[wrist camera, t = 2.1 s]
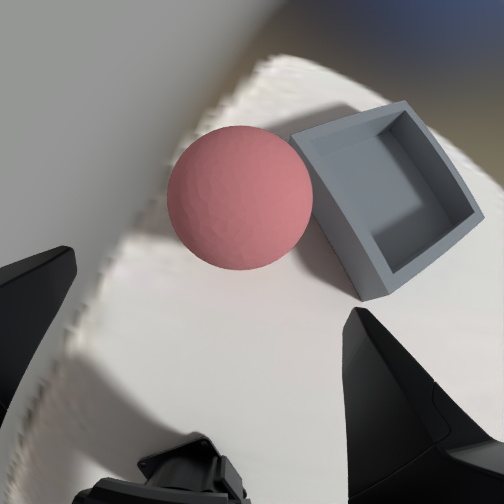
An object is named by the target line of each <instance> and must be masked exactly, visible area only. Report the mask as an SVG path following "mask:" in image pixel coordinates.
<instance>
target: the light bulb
mask: <svg viewBox="0 0 504 504" xmlns="http://www.w3.org/2000/svg"><path fill="white" fill-rule="evenodd" d="M312 203H313V194H312V184H311V181H310V177H309V173H308V171H307V168H306V166H305V164H304V163H303V161H302V159H301V158H300V156H299V155H298V154H297V152H296V151H295V150H294V149H293V148H292V147H291V146H290V145H289V144H288V143H287V142H286V141H284V140H283V139H281V138H280V137H278V136H277V135H275V134H273V133H271V132H269V131H267V130H264V129H260V128H256V127H251V126H229V127H223V128H220V129H217V130H214V131H212V132H210V133H208V134H206V135H204V136H202V137H200V138H199V139H197V140H196V141H195V142H194V143H192V144H191V145H190V146H189V147H188V148H187V149H186V150H185V151H184V153H183V154H182V155H181V157H180V158H179V160H178V161H177V163H176V165H175V167H174V169H173V171H172V174H171V177H170V180H169V184H168V192H167V205H168V211H169V216H170V219H171V222H172V225H173V227H174V230H175V232H176V233H177V235H178V237H179V238H180V240H181V241H182V242H183V244H184V245H185V246H186V247H187V248H188V249H189V250H190V251H191V252H192V253H193V254H195V255H196V256H197V257H198V258H200V259H202V260H203V261H205V262H207V263H209V264H211V265H214V266H217V267H220V268H224V269H230V270H251V269H255V268H259V267H263V266H265V265H268V264H271V263H272V262H274V261H276V260H278V259H279V258H281V257H282V256H284V255H285V254H286V253H288V252H289V251H290V250H291V249H292V248H293V247H294V246H295V245H296V243H297V242H298V241H299V239H300V238H301V236H302V235H303V233H304V231H305V229H306V227H307V225H308V222H309V219H310V215H311V211H312Z"/></svg>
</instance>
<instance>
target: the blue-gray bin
mask: <svg viewBox="0 0 504 504" xmlns="http://www.w3.org/2000/svg"><path fill="white" fill-rule="evenodd" d="M288 144H289V145H290V146H291V147H292V148H293V149H294V150H295V151H296V152H297V154H298V155H299V156H300V158H301V159H302V161H303V163H304V164H305V166H306V168H307V171H308V173H309V177H310V181H311V184H312V194H313V203H312V211H311V213H312V214H313V216H314V217H315V219H316V221H317V222H318V224H319V226H320V227H321V229H322V231H323V233H324V234H325V236H326V238H327V239H328V241H329V243H330V244H331V246H332V248H333V250H334V251H335V253H336V255H337V257H338V258H339V260H340V262H341V264H342V265H343V267H344V269H345V271H346V273H347V274H348V276H349V278H350V280H351V282H352V283H353V285H354V287H355V289H356V291H357V293H358V295H359V296H360V298H361V300H362V302H364V301H368V300H372V299H375V298H379V297H383V296H387V295H390V294H391V293H393V292H394V291H395V290H397V289H398V288H400V287H401V286H402V285H404V284H405V283H406V282H408V281H409V280H410V279H412V278H413V277H414V276H416V275H417V274H418V273H420V272H421V271H422V270H424V269H425V268H426V267H427V266H429V265H430V264H431V263H433V262H434V261H435V260H436V259H438V258H439V257H440V256H441V255H443V254H444V253H445V252H446V251H448V250H449V249H450V248H451V247H452V246H454V245H455V244H456V243H457V242H458V241H459V240H461V239H462V238H463V237H464V236H465V235H466V234H468V233H469V232H470V231H471V230H472V229H473V228H474V227H476V226H477V225H478V224H479V223H480V222H481V221H482V220H483V219H484V218H485V217H484V215H483V213H482V212H481V210H480V208H479V206H478V204H477V202H476V201H475V199H474V197H473V195H472V194H471V192H470V190H469V189H468V187H467V185H466V184H465V182H464V180H463V179H462V177H461V176H460V174H459V172H458V171H457V169H456V168H455V166H454V165H453V163H452V162H451V160H450V159H449V157H448V156H447V154H446V153H445V151H444V150H443V149H442V147H441V146H440V144H439V143H438V142H437V140H436V139H435V137H434V136H433V135H432V133H431V132H430V131H429V129H428V128H427V127H426V126H425V124H424V123H423V122H422V121H421V119H420V118H419V117H418V116H417V114H416V113H415V112H414V111H413V109H412V108H411V107H410V106H409V105H408V104H407V102H406V101H405V100H404V101H400V102H396V103H392V104H389V105H385V106H381V107H377V108H374V109H370V110H367V111H363V112H360V113H356V114H353V115H350V116H347V117H343V118H340V119H337V120H334V121H331V122H328V123H325V124H321V125H318V126H315V127H313V128H310V129H307V130H304V131H301V132H298V133H295V134H292V135H291V136H290V140H289V143H288Z"/></svg>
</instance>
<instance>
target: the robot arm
mask: <svg viewBox="0 0 504 504" xmlns="http://www.w3.org/2000/svg"><path fill="white" fill-rule="evenodd" d="M76 274H77V265H76V258H75V252H74V250H73V248H71V247H68V246H59V247H56V248H53V249H51V250H48V251H45V252H42V253H39V254H36V255H33V256H31V257H28V258H25V259H22V260H20V261H17V262H14V263H12V264H9V265H6V266H4V267H1V268H0V428H1V425H2V423H3V420H4V417H5V415H6V413H7V409H8V408H9V405H10V403H11V401H12V398H13V396H14V394H15V392H16V390H17V387H18V385H19V383H20V381H21V379H22V377H23V375H24V373H25V371H26V369H27V367H28V365H29V363H30V361H31V359H32V357H33V355H34V353H35V351H36V350H37V348H38V346H39V344H40V342H41V340H42V339H43V337H44V335H45V333H46V331H47V329H48V328H49V326H50V324H51V323H52V321H53V319H54V318H55V316H56V314H57V312H58V311H59V309H60V307H61V305H62V303H63V301H64V299H65V296H66V294H67V292H68V290H69V288H70V286H71V285H72V282H73V281H74V279H75V277H76ZM342 380H343V392H344V405H345V419H346V436H347V459H348V498H349V499H348V504H504V443H503V442H500V441H497V440H495V439H493V438H492V437H490V436H489V435H488V434H487V433H486V432H485V431H484V430H483V429H482V428H481V427H480V426H479V425H478V424H477V423H476V422H475V421H474V420H473V419H471V418H470V417H469V416H468V415H467V414H466V413H465V412H464V411H463V410H462V409H461V408H460V407H459V406H458V405H457V404H456V403H455V402H454V401H453V400H452V399H451V398H450V397H449V395H448V394H447V393H446V392H445V391H444V390H443V389H442V388H441V387H440V386H439V385H438V383H437V382H434V379H433V378H432V377H431V376H430V375H429V374H428V373H427V371H426V370H425V369H424V368H423V367H422V366H421V365H420V364H419V363H418V362H417V361H416V360H415V358H414V357H413V356H412V355H411V354H410V353H409V352H408V351H407V350H406V349H405V348H404V347H403V346H402V345H401V344H400V342H399V341H398V340H397V339H396V338H395V337H394V336H393V335H392V334H391V333H390V332H389V331H388V330H387V329H386V328H385V327H384V326H383V325H382V324H381V323H380V322H379V321H378V320H377V319H376V317H375V316H374V315H373V314H372V313H371V312H370V311H369V310H368V309H366V308H360V307H354V308H353V309H352V311H351V313H350V315H349V317H348V319H347V321H346V323H345V325H344V328H343V347H342ZM202 441H206V442H207V445H203V444H202V443H201V442H202ZM142 463H145V464H146V466H143V465H142ZM137 465H138V467H139V469H140V470H141V472H142V473H143V475H144V476H145V477H146V479H147V480H146V482H145V483H144V485H142V484H137V483H132V482H127V481H123V480H118V479H114V478H110V477H107V478H102V479H100V480H99V481H98V482H97V483H96V484H95V485H94V486H93V488H90V489H86V490H82V491H80V492H79V493H78V494H77V495H76V496H75V497H74V500H73V502H72V504H251V501H250V499H245V498H246V497H247V492H246V490H245V489H244V488H243V486H242V478H241V477H240V475H239V474H238V473H237V471H236V470H235V468H234V467H233V465H232V464H231V463H230V461H229V460H228V458H227V457H226V456H223V455H222V456H221V455H220V454H219V452H218V451H217V449H216V448H215V446H214V444H213V443H212V441H211V440H210V439H209V438H208V437H200V438H198V439H195V440H193V441H190V442H188V443H185V444H182V445H180V446H177V447H174V448H172V449H169V450H166V451H163V452H160V453H157V454H154V455H151V456H148V457H145V458H142V459H140V460H139V461H138V463H137Z"/></svg>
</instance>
